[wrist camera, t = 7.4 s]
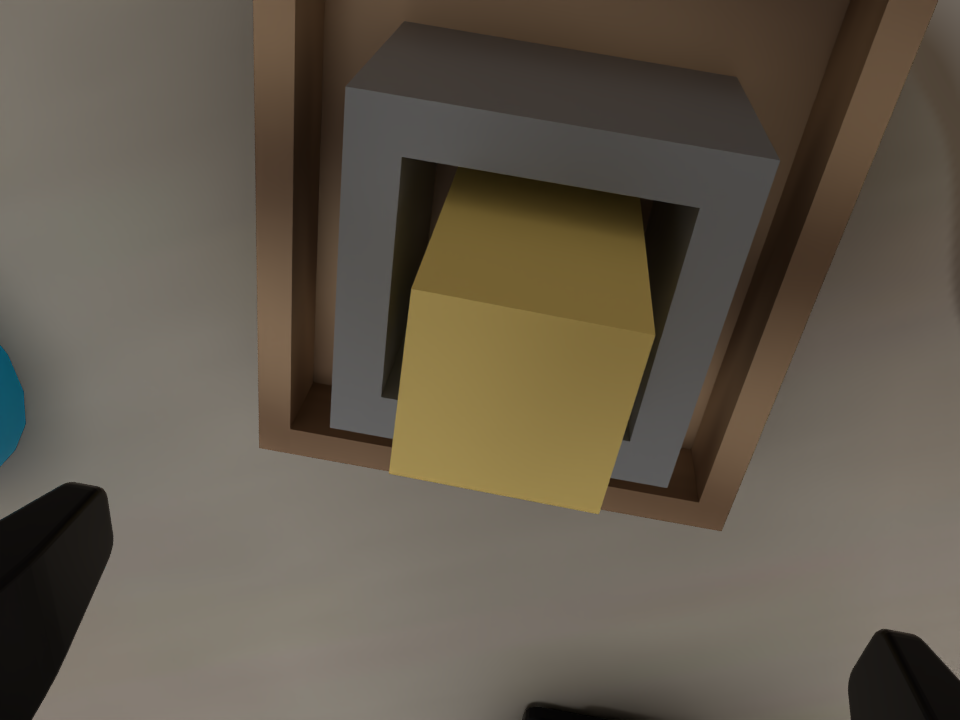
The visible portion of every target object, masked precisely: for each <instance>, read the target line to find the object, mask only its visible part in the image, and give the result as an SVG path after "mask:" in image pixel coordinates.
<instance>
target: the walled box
mask: <svg viewBox="0 0 960 720" xmlns="http://www.w3.org/2000/svg"><path fill="white" fill-rule="evenodd" d="M937 2H938V0H253V31H254V103H255V175H256V247H257V319H258V391H259V448H263V449H268V450H274V451H279V452H285V453H290V454H296V455H301V456H307V457H312V458H318V459H324V460H329V461H335V462H340V463H346V464H351V465H357V466H362V467H368V468H374V469H379V470H385V471H389V468H390V460H391V452H392V444H393V439H391V438H385V437H379V436H374V435H368V434H363V433H357V432H352V431H346V430H340V429H335V428H330V415H331V393H332V371H333V349H334V327H335V305H336V283H337V261H338V239H339V217H340V195H341V173H342V151H343V129H344V107H345V86H346V85H347V84H348V83H349V82H350V81H351V80H352V79H353V77H354V76H355V75H356V74H357V73H358V72H359V71H360V70H361V69H362V68H363V66H364V65H365V64H366V63H367V62H368V61H369V60H370V59H371V58H372V56H373V55H374V54H375V53H376V52H377V51H378V50H379V49H380V48H381V46H382V45H383V44H384V43H385V42H386V41H387V40H388V39H389V38H390V36H391V35H392V34H393V33H394V32H395V31H396V30H397V29H398V28H399V27H400V25H401V24H402V23H403V22H404V21H407V22H413V23H419V24H425V25H431V26H437V27H443V28H449V29H455V30H461V31H467V32H472V33H478V34H484V35H490V36H496V37H502V38H508V39H514V40H520V41H526V42H532V43H538V44H544V45H550V46H556V47H562V48H568V49H573V50H579V51H585V52H591V53H597V54H603V55H609V56H615V57H621V58H627V59H633V60H639V61H645V62H651V63H657V64H663V65H669V66H674V67H680V68H686V69H692V70H698V71H704V72H710V73H716V74H722V75H728V76H734V77H737V78H738V80H739V82H740V84H741V86H742V88H743V90H744V92H745V94H746V96H747V98H748V100H749V101H750V103H751V105H752V107H753V109H754V111H755V113H756V115H757V117H758V119H759V121H760V123H761V124H762V126H763V128H764V130H765V132H766V134H767V136H768V138H769V140H770V142H771V144H772V146H773V147H774V149H775V151H776V153H777V155H778V157H779V159H780V163H779V166H778V169H777V172H776V174H775V177H774V180H773V183H772V186H771V189H770V192H769V195H768V198H767V201H766V203H765V206H764V209H763V212H762V215H761V218H760V221H759V224H758V227H757V229H756V232H755V235H754V238H753V241H752V244H751V247H750V250H749V253H748V256H747V258H746V261H745V264H744V267H743V270H742V273H741V276H740V279H739V282H738V285H737V287H736V290H735V293H734V296H733V299H732V302H731V305H730V308H729V311H728V313H727V316H726V319H725V322H724V325H723V328H722V331H721V334H720V337H719V340H718V342H717V345H716V348H715V351H714V354H713V357H712V360H711V363H710V366H709V369H708V371H707V374H706V377H705V380H704V383H703V386H702V389H701V392H700V395H699V397H698V400H697V403H696V406H695V409H694V412H693V415H692V418H691V421H690V424H689V426H688V429H687V432H686V435H685V438H684V441H683V444H682V447H681V450H680V453H679V455H678V458H677V461H676V464H675V467H674V470H673V473H672V476H671V479H670V481H669V484H668V487H667V488H664V487H658V486H653V485H647V484H642V483H636V482H630V481H625V480H619V479H614V478H610V481H609V484H608V487H607V490H606V493H605V496H604V500H603V503H602V506H601V510H607V511H612V512H618V513H623V514H629V515H634V516H640V517H645V518H651V519H657V520H662V521H668V522H673V523H679V524H684V525H690V526H695V527H701V528H706V529H712V530H718V531H722V529H723V526H724V524H725V521H726V519H727V516H728V514H729V512H730V509H731V507H732V504H733V502H734V499H735V497H736V494H737V492H738V490H739V487H740V485H741V482H742V480H743V477H744V475H745V472H746V470H747V467H748V465H749V463H750V460H751V458H752V455H753V453H754V450H755V448H756V445H757V443H758V441H759V438H760V436H761V433H762V431H763V428H764V426H765V423H766V421H767V419H768V416H769V414H770V411H771V409H772V406H773V404H774V401H775V399H776V397H777V394H778V392H779V389H780V387H781V384H782V382H783V379H784V377H785V374H786V372H787V370H788V367H789V365H790V362H791V360H792V357H793V355H794V352H795V350H796V348H797V345H798V343H799V340H800V338H801V335H802V333H803V330H804V328H805V326H806V323H807V321H808V318H809V316H810V313H811V311H812V308H813V306H814V304H815V301H816V299H817V296H818V294H819V291H820V289H821V286H822V284H823V282H824V279H825V277H826V274H827V272H828V269H829V267H830V264H831V262H832V259H833V257H834V255H835V252H836V250H837V247H838V245H839V242H840V240H841V237H842V235H843V233H844V230H845V228H846V225H847V223H848V220H849V218H850V215H851V213H852V211H853V208H854V206H855V203H856V201H857V198H858V196H859V193H860V191H861V189H862V186H863V184H864V181H865V179H866V176H867V174H868V171H869V169H870V166H871V164H872V162H873V159H874V157H875V154H876V152H877V149H878V147H879V144H880V142H881V140H882V137H883V135H884V132H885V130H886V127H887V125H888V122H889V120H890V118H891V115H892V113H893V110H894V108H895V105H896V103H897V100H898V98H899V96H900V93H901V91H902V88H903V86H904V83H905V81H906V78H907V76H908V73H909V71H910V69H911V66H912V64H913V61H914V59H915V56H916V54H917V51H918V49H919V47H920V44H921V42H922V39H923V37H924V34H925V32H926V29H927V27H928V25H929V22H930V20H931V17H932V15H933V12H934V10H935V7H936V5H937ZM457 169H458V166H452V165H447V164H441V163H437V165H436V174H435V183H434V192H433V201H432V211H431V220H430V229H429V238H428V244H429V241H430V239H431V236H432V234H433V231H434V228H435V226H436V223H437V221H438V218H439V215H440V213H441V210H442V208H443V205H444V202H445V200H446V197H447V195H448V192H449V189H450V187H451V184H452V182H453V179H454V176H455V174H456V171H457ZM640 202H641V211H642V220H643V229H644V236H645V232H646V228H647V225H648V221H649V217H650V213H651V210H652V206H653V202H654V200H650V199H644V198H640Z"/></svg>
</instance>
